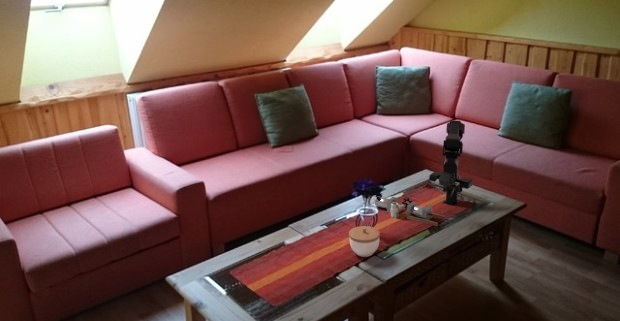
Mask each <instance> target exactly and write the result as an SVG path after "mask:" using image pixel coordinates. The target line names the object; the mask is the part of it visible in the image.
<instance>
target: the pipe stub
mask: <svg viewBox="0 0 620 321" xmlns="http://www.w3.org/2000/svg"><path fill="white" fill-rule="evenodd" d="M380 197H381V200H380V201H378V200H377V197H376V198H375V199H374V200H375V201H374V206H375V207H378V208H383V209H386V212H387V213H389V214H391V211H390V209H391V203H393V202H397V199H398V198H397V197H395V196H392V197H391V198H385V197H382V196H380Z"/></svg>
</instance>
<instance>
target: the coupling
mask: <svg viewBox="0 0 620 321" xmlns="http://www.w3.org/2000/svg"><path fill="white" fill-rule="evenodd" d="M432 213H433V206H431V205H429V204H428V205H427V206H426V207H424V206H418V205H417V202H415V201H413V202H412V203H410V204H409V205H407V210H406V216H407V215H409V216H413V217H417V218H421V219H425V220H429V221H430V219H432Z"/></svg>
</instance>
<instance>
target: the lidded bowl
mask: <svg viewBox="0 0 620 321" xmlns="http://www.w3.org/2000/svg"><path fill="white" fill-rule="evenodd" d="M380 236H381V232H380V230H378V229H377V228H376V227H373V226H368V225H360V226H355V227H353V228H351V229H350V230H349V232H348V238H349V244H350V247H351V250H352V251H353V252H354V253H355V254H356V255H357V256H359V257H362V258H363V257H364V258H366V257H371V256H372V255H373V254H374V253H375V252H376V251H377V250H378V248H379V245H380Z"/></svg>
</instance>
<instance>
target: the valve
mask: <svg viewBox="0 0 620 321" xmlns="http://www.w3.org/2000/svg"><path fill="white" fill-rule="evenodd" d="M402 199H403V201H401V203H402V204H401V205H400V204H399V202H397V201H396V202H393V203H391V209H390V211H391V213H390V217H391V218H395V219H397V218H398V217H399V215H400V214H399V213H400V212H401V211H403V209H405V210H406V211H407V205H409V204H410V203H412V202H414V201H413V200H410V197H407V198H406V197H405V198H402Z"/></svg>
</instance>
